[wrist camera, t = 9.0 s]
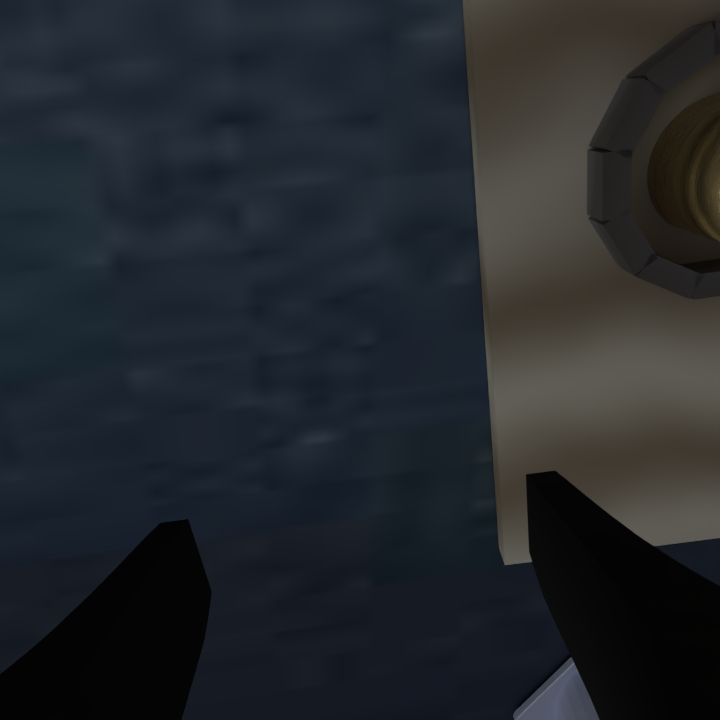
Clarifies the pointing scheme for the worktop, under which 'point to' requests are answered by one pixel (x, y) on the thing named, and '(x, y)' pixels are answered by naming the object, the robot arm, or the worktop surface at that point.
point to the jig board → (594, 261)
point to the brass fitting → (689, 170)
